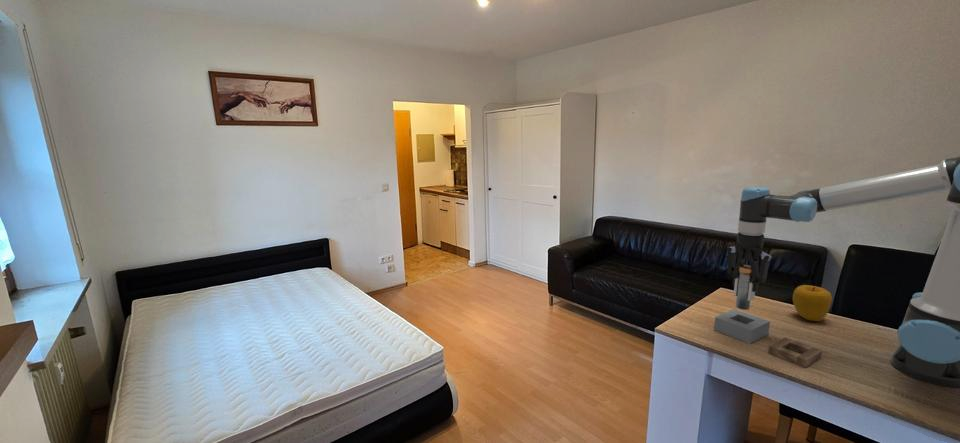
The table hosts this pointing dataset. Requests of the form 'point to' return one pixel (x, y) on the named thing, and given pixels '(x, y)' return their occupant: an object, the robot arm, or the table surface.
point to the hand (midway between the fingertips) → (743, 297)
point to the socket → (742, 326)
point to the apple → (812, 302)
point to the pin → (743, 287)
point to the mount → (803, 359)
